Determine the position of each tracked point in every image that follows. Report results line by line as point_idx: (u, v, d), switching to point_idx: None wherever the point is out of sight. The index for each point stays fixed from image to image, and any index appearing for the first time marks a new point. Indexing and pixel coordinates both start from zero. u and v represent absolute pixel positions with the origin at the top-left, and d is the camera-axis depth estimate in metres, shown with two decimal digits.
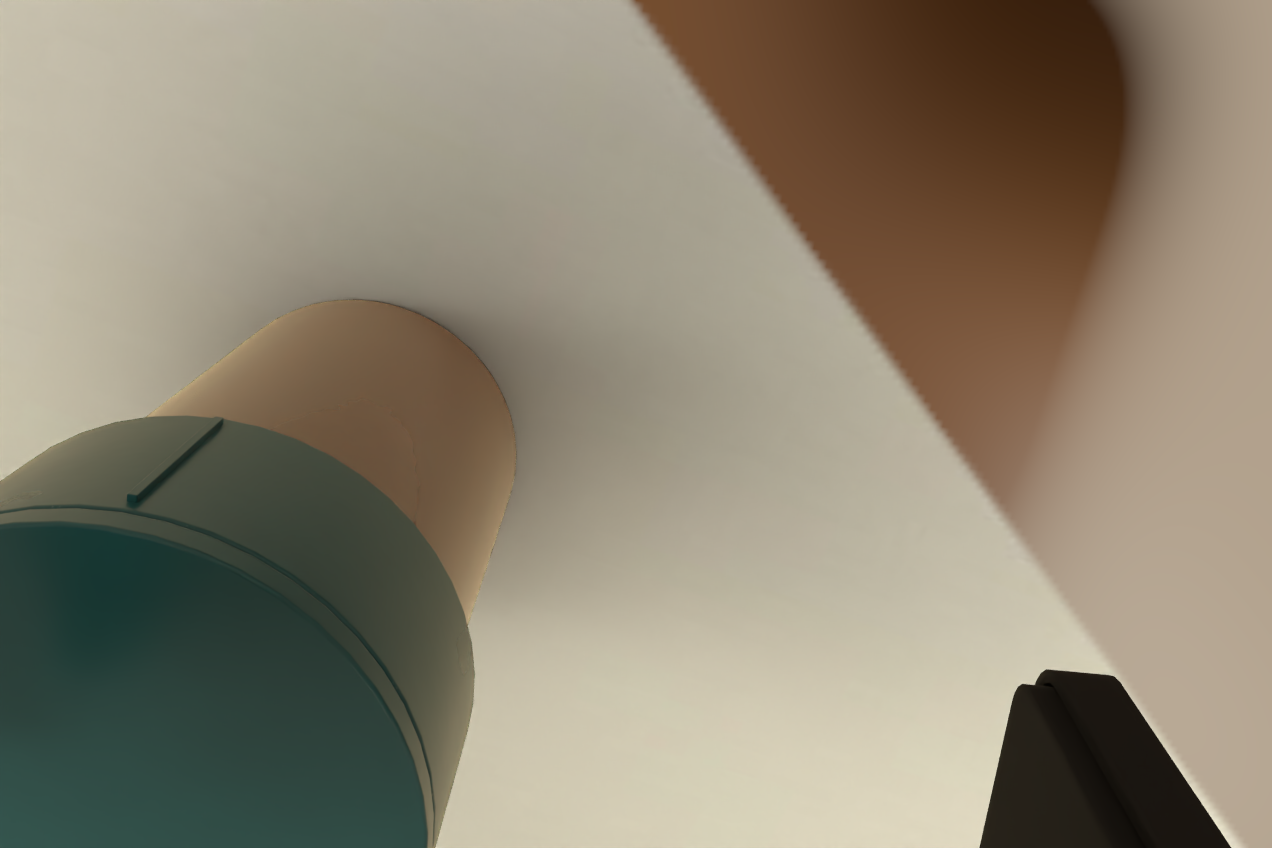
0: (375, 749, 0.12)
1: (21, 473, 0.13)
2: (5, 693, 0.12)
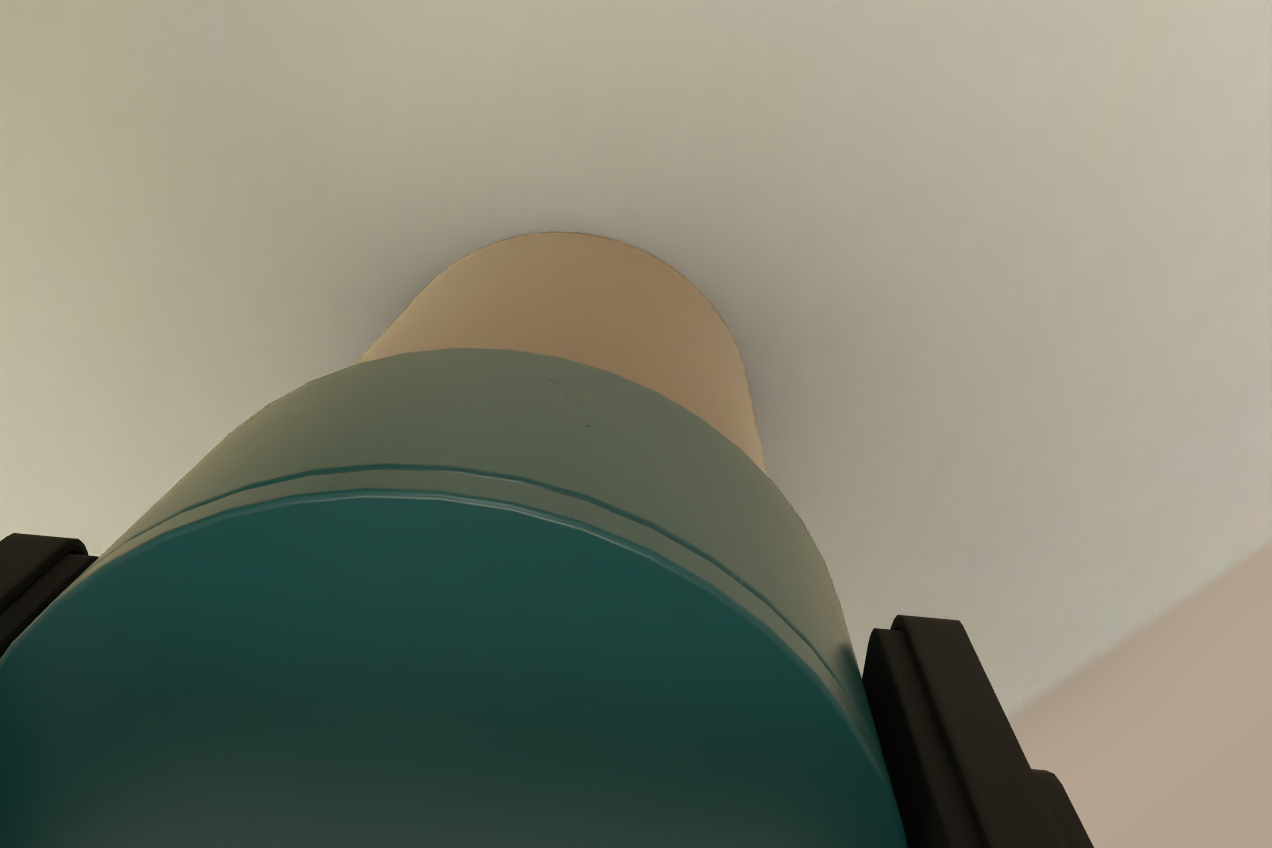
0: None
1: (842, 627, 0.09)
2: None
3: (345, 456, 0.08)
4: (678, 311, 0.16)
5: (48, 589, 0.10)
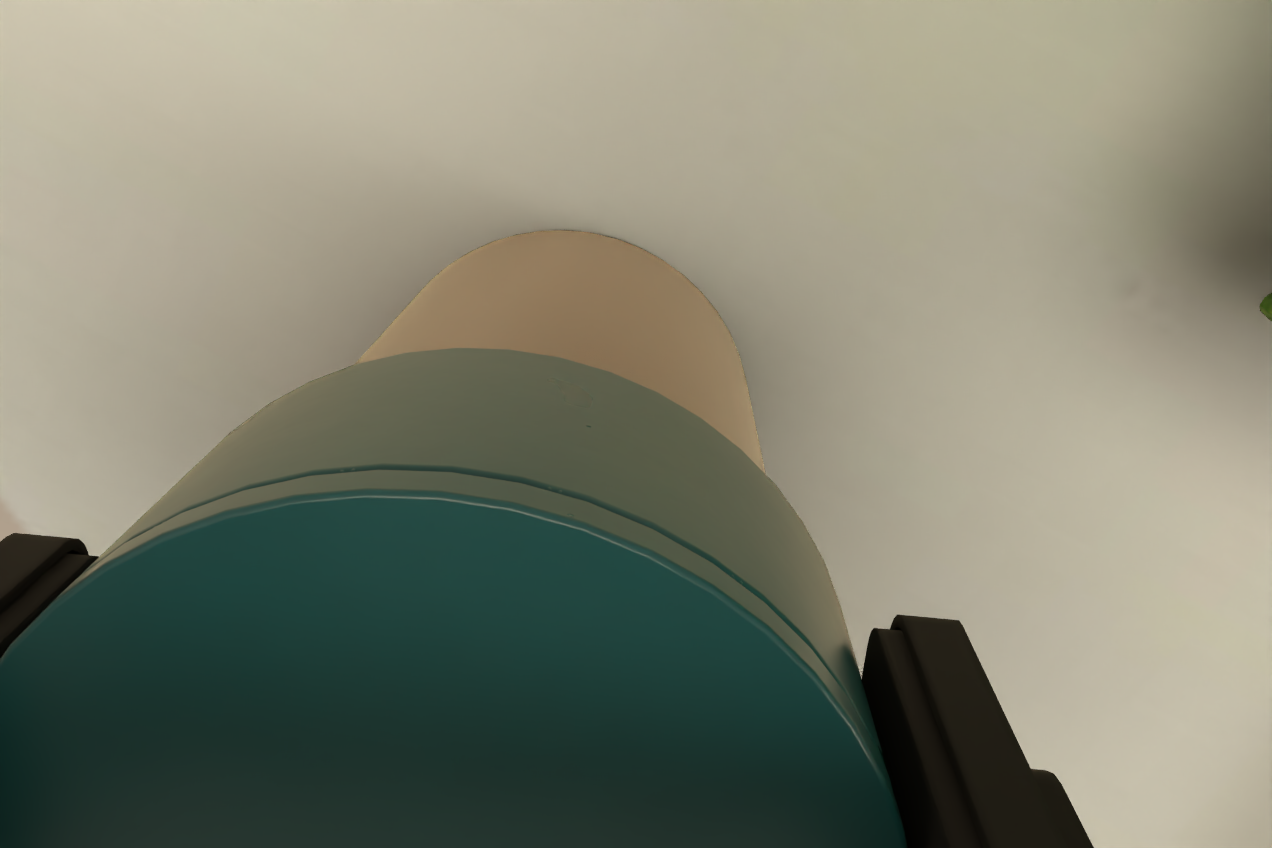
0: None
1: (842, 628, 0.09)
2: None
3: (345, 456, 0.08)
4: None
5: (48, 589, 0.10)
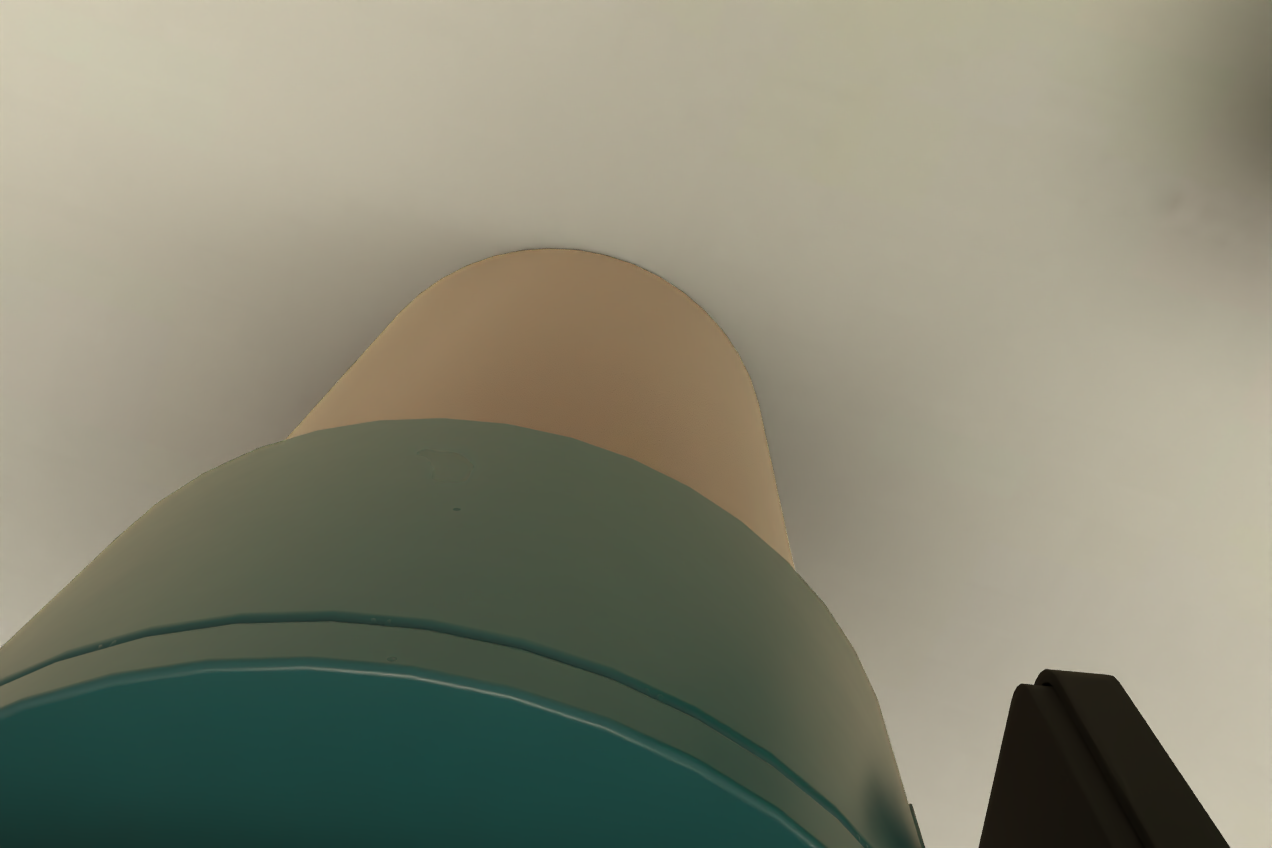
0: None
1: (845, 699, 0.07)
2: None
3: (114, 622, 0.06)
4: None
5: None
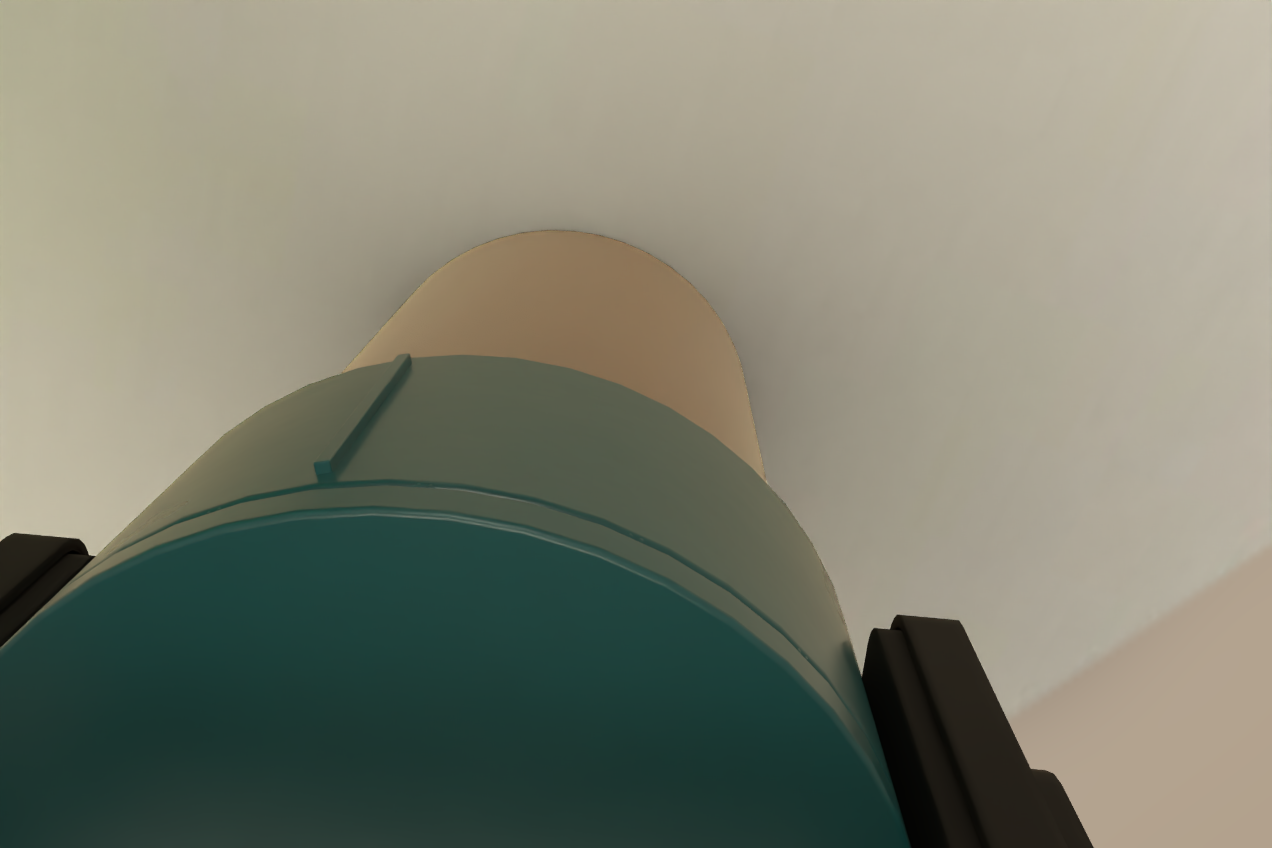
0: (807, 762, 0.07)
1: (156, 498, 0.09)
2: (220, 820, 0.08)
3: None
4: (676, 311, 0.16)
5: (48, 589, 0.10)
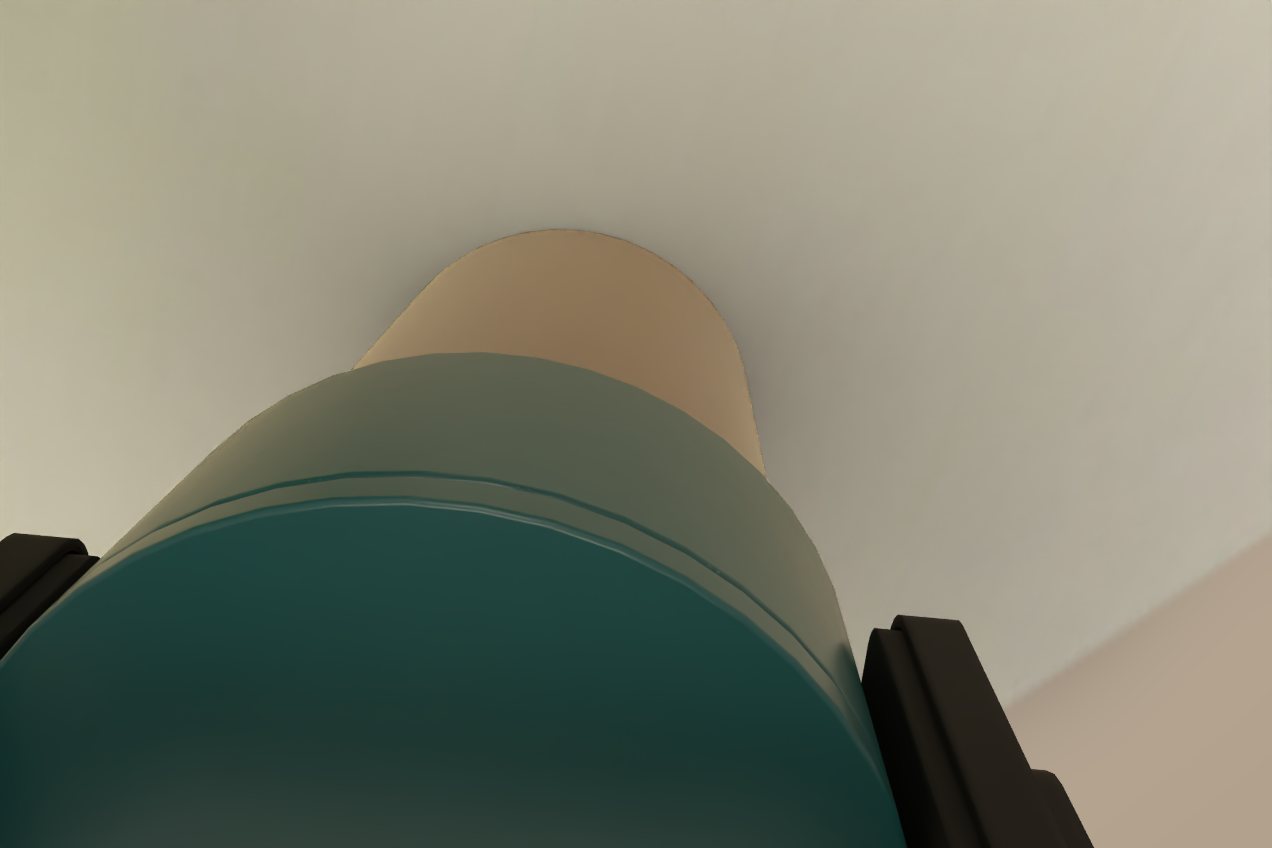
0: (46, 686, 0.08)
1: None
2: None
3: None
4: (677, 308, 0.16)
5: (48, 589, 0.10)
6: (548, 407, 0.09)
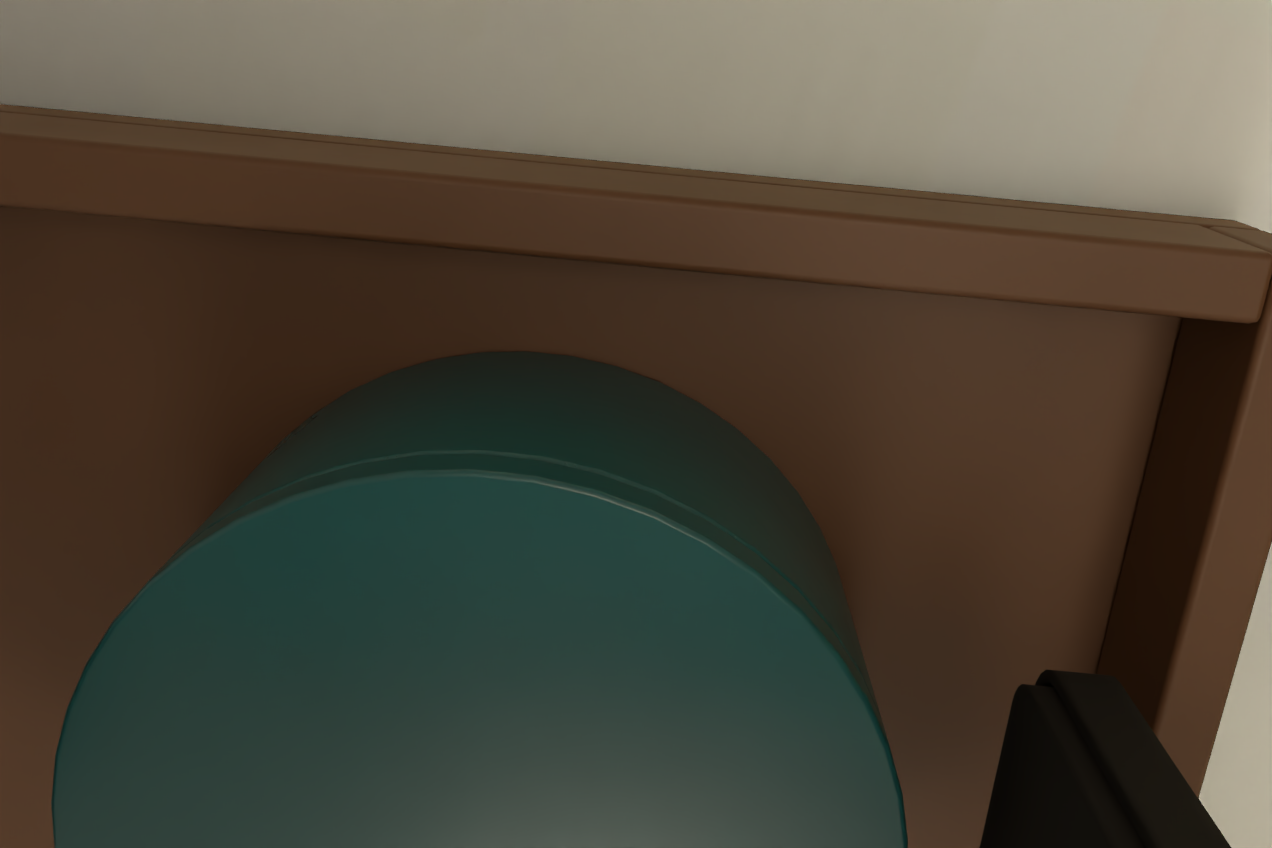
0: (161, 632, 0.09)
1: None
2: None
3: None
4: None
5: None
6: (585, 398, 0.10)
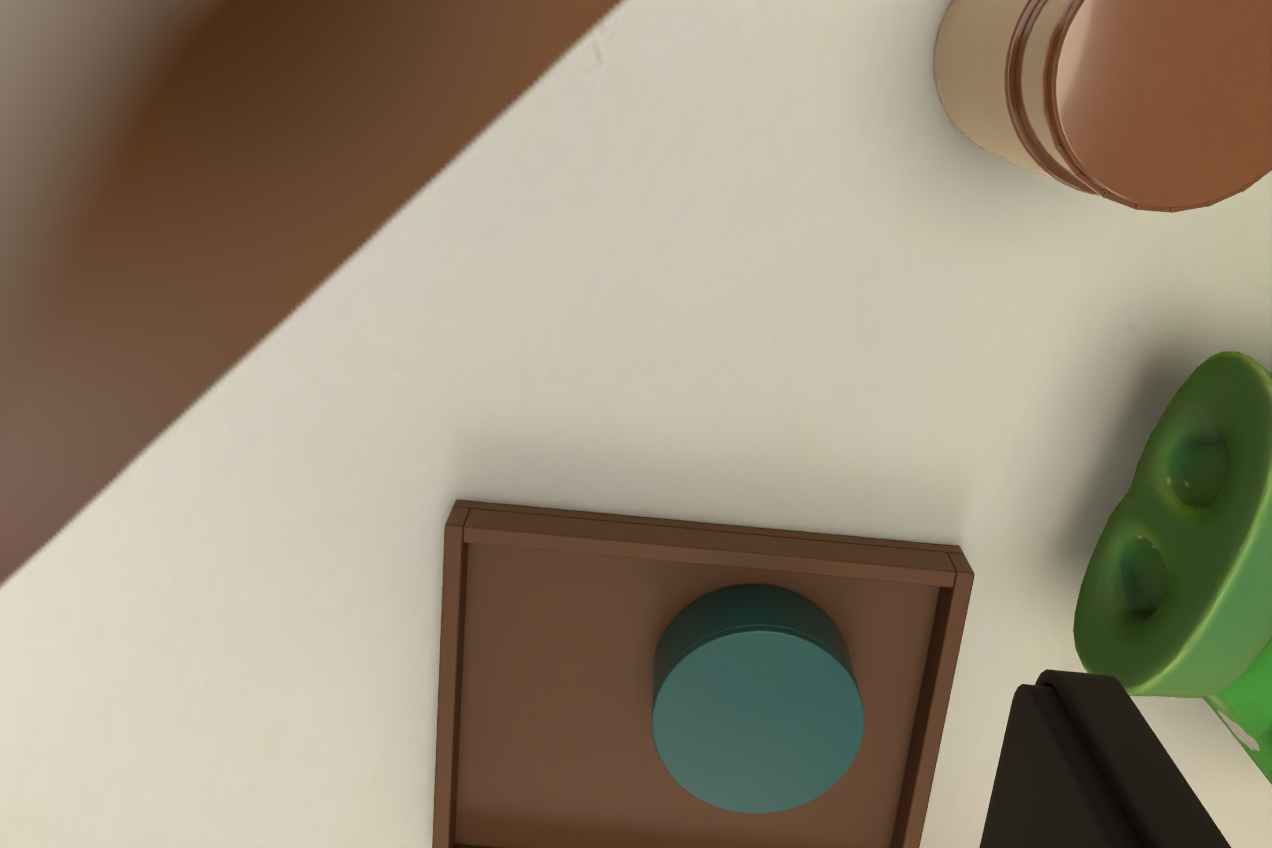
0: (688, 667, 0.38)
1: None
2: (726, 761, 0.39)
3: None
4: (989, 148, 0.33)
5: None
6: (780, 603, 0.39)
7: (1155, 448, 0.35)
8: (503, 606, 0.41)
